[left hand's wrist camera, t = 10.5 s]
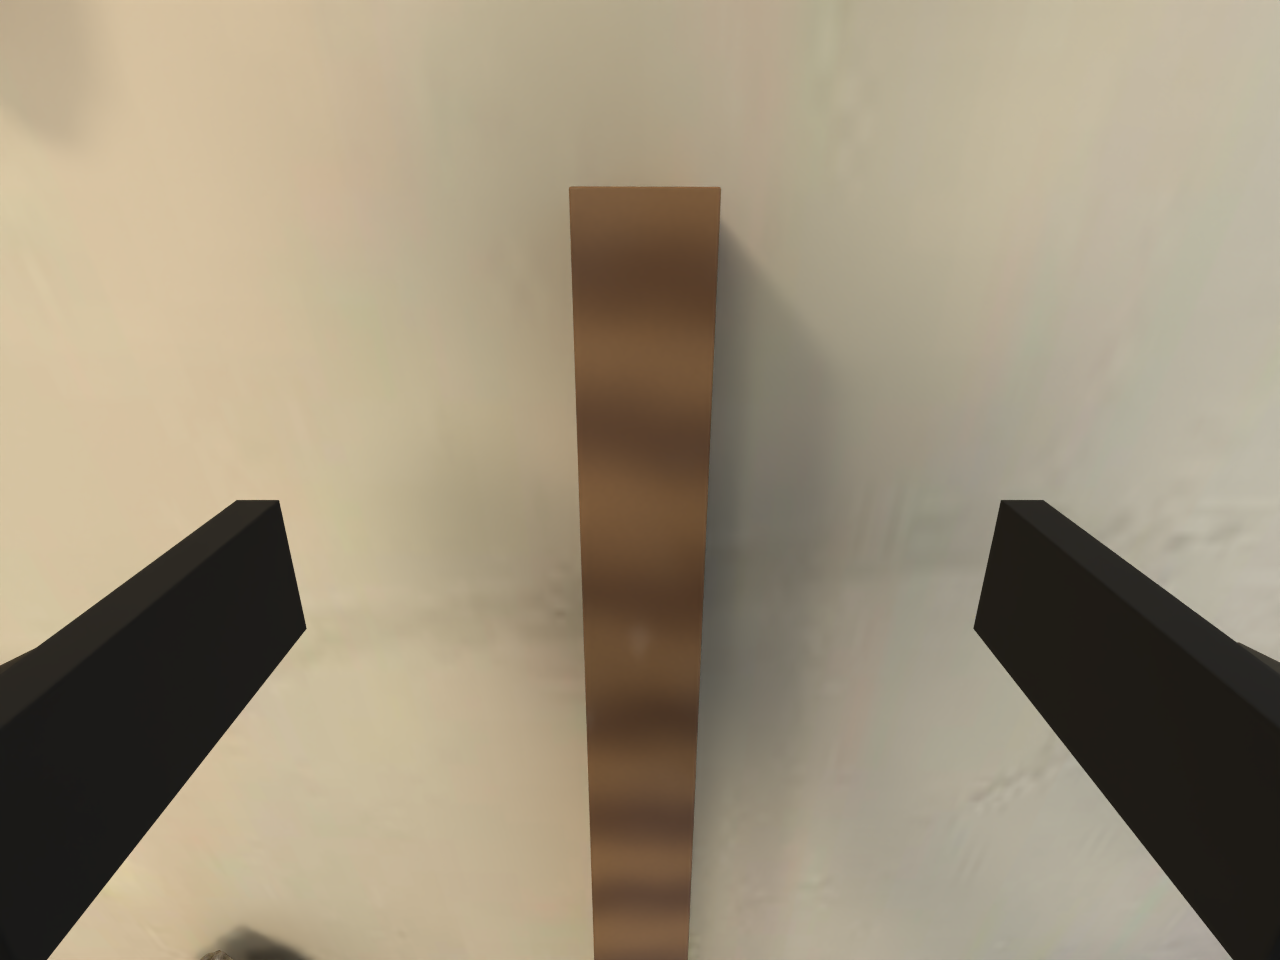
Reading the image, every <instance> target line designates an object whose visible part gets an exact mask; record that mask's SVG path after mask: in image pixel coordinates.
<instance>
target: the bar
mask: <svg viewBox="0 0 1280 960" xmlns="http://www.w3.org/2000/svg"><path fill="white" fill-rule="evenodd" d="M720 200H721V188H720V187H570V188H569V202H570V233H571V263H572V294H573V324H574V354H575V385H576V415H577V446H578V476H579V506H580V537H581V567H582V598H583V628H584V658H585V689H586V719H587V750H588V780H589V810H590V841H591V871H592V902H593V932H594V960H688V940H689V917H690V894H691V870H692V847H693V824H694V801H695V778H696V755H697V732H698V709H699V686H700V662H701V639H702V616H703V593H704V570H705V547H706V524H707V501H708V478H709V455H710V431H711V408H712V385H713V362H714V339H715V316H716V293H717V270H718V247H719V223H720Z"/></svg>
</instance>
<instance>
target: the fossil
mask: <svg viewBox="0 0 1280 960" xmlns="http://www.w3.org/2000/svg"><path fill="white" fill-rule="evenodd" d="M201 960H233V959H232V958H231V957H229V956H228V955H227V954H225V953H224V952H221V951H220V950H219V951H216V952H215V953H209V954H207V955H206V956H204V957H203V958H202V959H201Z"/></svg>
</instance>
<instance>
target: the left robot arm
mask: <svg viewBox="0 0 1280 960" xmlns="http://www.w3.org/2000/svg"><path fill="white" fill-rule="evenodd" d="M306 629H307V628H306V624H305V619H304V614H303V610H302V605H301V600H300V596H299V591H298V587H297V582H296V577H295V573H294V568H293V563H292V559H291V554H290V549H289V545H288V540H287V535H286V531H285V526H284V522H283V517H282V512H281V508H280V503H279V500H236V501H235V502H234V503H232V504H231V505H230V506H228V507H227V508H225V509H224V510H223V511H221V512H220V513H219V514H217V515H216V516H215V517H213V518H212V519H211V520H209V521H208V522H206V523H205V524H204V525H202V526H201V527H200V528H198V529H197V530H196V531H194V532H193V533H192V534H190V535H189V536H187V537H186V538H185V539H183V540H182V541H181V542H179V543H178V544H177V545H175V546H174V547H173V548H171V549H170V550H168V551H167V552H166V553H164V554H163V555H162V556H160V557H159V558H158V559H156V560H155V561H154V562H152V563H151V564H149V565H148V566H147V567H145V568H144V569H143V570H141V571H140V572H139V573H137V574H136V575H134V576H133V577H132V578H130V579H129V580H128V581H126V582H125V583H124V584H122V585H121V586H120V587H118V588H117V589H115V590H114V591H113V592H111V593H110V594H109V595H107V596H106V597H105V598H103V599H102V600H101V601H99V602H98V603H96V604H95V605H94V606H92V607H91V608H90V609H88V610H87V611H86V612H84V613H83V614H82V615H80V616H79V617H77V618H76V619H75V620H73V621H72V622H71V623H69V624H68V625H67V626H65V627H64V628H63V629H61V630H60V631H58V632H57V633H56V634H54V635H53V636H52V637H50V638H49V639H48V640H46V641H45V642H43V643H42V644H41V645H39V646H38V647H37V648H35V649H33V650H31V651H29V652H27V653H25V654H23V655H21V656H19V657H17V658H15V659H13V660H11V661H9V662H6V663H4V664H2V665H0V960H47V959H48V958H49V956H50V955H51V954H52V953H53V951H54V950H55V949H56V947H57V946H58V945H59V944H60V942H61V941H62V940H63V939H64V937H65V936H66V935H67V933H68V932H69V931H70V930H71V928H72V927H73V926H74V924H75V923H76V922H77V921H78V919H79V918H80V917H81V916H82V914H83V913H84V912H85V910H86V909H87V908H88V907H89V905H90V904H91V903H92V902H93V900H94V899H95V898H96V896H97V895H98V894H99V893H100V891H101V890H102V889H103V887H104V886H105V885H106V884H107V882H108V881H109V880H110V879H111V877H112V876H113V875H114V873H115V872H116V871H117V870H118V868H119V867H120V866H121V865H122V863H123V862H124V861H125V859H126V858H127V857H128V856H129V854H130V853H131V852H132V851H133V849H134V848H135V847H136V845H137V844H138V843H139V842H140V840H141V839H142V838H143V836H144V835H145V834H146V833H147V831H148V830H149V829H150V828H151V826H152V825H153V824H154V822H155V821H156V820H157V819H158V817H159V816H160V815H161V814H162V812H163V811H164V810H165V808H166V807H167V806H168V805H169V803H170V802H171V801H172V799H173V798H174V797H175V796H176V794H177V793H178V792H179V791H180V789H181V788H182V787H183V785H184V784H185V783H186V782H187V780H188V779H189V778H190V777H191V775H192V774H193V773H194V771H195V770H196V769H197V768H198V766H199V765H200V764H201V763H202V761H203V760H204V759H205V757H206V756H207V755H208V754H209V752H210V751H211V750H212V748H213V747H214V746H215V745H216V743H217V742H218V741H219V740H220V738H221V737H222V736H223V734H224V733H225V732H226V731H227V729H228V728H229V727H230V726H231V724H232V723H233V722H234V720H235V719H236V718H237V717H238V715H239V714H240V713H241V711H242V710H243V709H244V708H245V706H246V705H247V704H248V703H249V701H250V700H251V699H252V697H253V696H254V695H255V694H256V692H257V691H258V690H259V689H260V687H261V686H262V685H263V683H264V682H265V681H266V680H267V678H268V677H269V676H270V675H271V673H272V672H273V671H274V669H275V668H276V667H277V666H278V664H279V663H280V662H281V660H282V659H283V658H284V657H285V655H286V654H287V653H288V652H289V650H290V649H291V648H292V646H293V645H294V644H295V643H296V641H297V640H298V639H299V638H300V636H301V635H302V634H303V632H304V631H305V630H306ZM973 629H974V630H975V631H976V632H977V634H978V635H979V636H980V638H981V639H982V640H983V641H984V643H985V644H986V645H987V646H988V648H989V649H990V650H991V652H992V653H993V654H994V655H995V657H996V658H997V659H998V660H999V662H1000V663H1001V664H1002V666H1003V667H1004V668H1005V669H1006V671H1007V672H1008V673H1009V675H1010V676H1011V677H1012V678H1013V680H1014V681H1015V682H1016V683H1017V685H1018V686H1019V687H1020V689H1021V690H1022V691H1023V692H1024V694H1025V695H1026V696H1027V697H1028V699H1029V700H1030V701H1031V703H1032V704H1033V705H1034V706H1035V708H1036V709H1037V710H1038V712H1039V713H1040V714H1041V715H1042V717H1043V718H1044V719H1045V720H1046V722H1047V723H1048V724H1049V726H1050V727H1051V728H1052V729H1053V731H1054V732H1055V733H1056V734H1057V736H1058V737H1059V738H1060V740H1061V741H1062V742H1063V743H1064V745H1065V746H1066V747H1067V748H1068V750H1069V751H1070V752H1071V754H1072V755H1073V756H1074V757H1075V759H1076V760H1077V761H1078V763H1079V764H1080V765H1081V766H1082V768H1083V769H1084V770H1085V771H1086V773H1087V774H1088V775H1089V777H1090V778H1091V779H1092V780H1093V782H1094V783H1095V784H1096V785H1097V787H1098V788H1099V789H1100V791H1101V792H1102V793H1103V794H1104V796H1105V797H1106V798H1107V799H1108V801H1109V802H1110V803H1111V805H1112V806H1113V807H1114V808H1115V810H1116V811H1117V812H1118V814H1119V815H1120V816H1121V817H1122V819H1123V820H1124V821H1125V822H1126V824H1127V825H1128V826H1129V828H1130V829H1131V830H1132V831H1133V833H1134V834H1135V835H1136V836H1137V838H1138V839H1139V840H1140V842H1141V843H1142V844H1143V845H1144V847H1145V848H1146V849H1147V851H1148V852H1149V853H1150V854H1151V856H1152V857H1153V858H1154V859H1155V861H1156V862H1157V863H1158V865H1159V866H1160V867H1161V868H1162V870H1163V871H1164V872H1165V873H1166V875H1167V876H1168V877H1169V879H1170V880H1171V881H1172V882H1173V884H1174V885H1175V886H1176V887H1177V889H1178V890H1179V891H1180V893H1181V894H1182V895H1183V896H1184V898H1185V899H1186V900H1187V902H1188V903H1189V904H1190V905H1191V907H1192V908H1193V909H1194V910H1195V912H1196V913H1197V914H1198V916H1199V917H1200V918H1201V919H1202V921H1203V922H1204V923H1205V924H1206V926H1207V927H1208V928H1209V930H1210V931H1211V932H1212V933H1213V935H1214V936H1215V937H1216V939H1217V940H1218V941H1219V942H1220V944H1221V945H1222V946H1223V947H1224V949H1225V950H1226V951H1227V953H1228V954H1229V955H1230V956H1231V958H1232V959H1233V960H1280V662H1278V661H1276V660H1274V659H1272V658H1270V657H1268V656H1265V655H1263V654H1261V653H1259V652H1257V651H1255V650H1253V649H1251V648H1249V647H1247V646H1245V645H1243V644H1241V643H1236V642H1235V641H1234V640H1232V639H1231V638H1230V637H1228V636H1227V635H1226V634H1224V633H1223V632H1222V631H1220V630H1219V629H1217V628H1216V627H1215V626H1213V625H1212V624H1211V623H1209V622H1208V621H1207V620H1205V619H1204V618H1203V617H1201V616H1200V615H1198V614H1197V613H1196V612H1194V611H1193V610H1192V609H1190V608H1189V607H1188V606H1186V605H1185V604H1184V603H1182V602H1181V601H1179V600H1178V599H1177V598H1175V597H1174V596H1173V595H1171V594H1170V593H1169V592H1167V591H1166V590H1165V589H1163V588H1162V587H1160V586H1159V585H1158V584H1156V583H1155V582H1154V581H1152V580H1151V579H1150V578H1148V577H1147V576H1146V575H1144V574H1143V573H1141V572H1140V571H1139V570H1137V569H1136V568H1135V567H1133V566H1132V565H1131V564H1129V563H1128V562H1126V561H1125V560H1124V559H1122V558H1121V557H1120V556H1118V555H1117V554H1116V553H1114V552H1113V551H1112V550H1110V549H1109V548H1107V547H1106V546H1105V545H1103V544H1102V543H1101V542H1099V541H1098V540H1097V539H1095V538H1094V537H1093V536H1091V535H1090V534H1088V533H1087V532H1086V531H1084V530H1083V529H1082V528H1080V527H1079V526H1078V525H1076V524H1075V523H1074V522H1072V521H1071V520H1069V519H1068V518H1067V517H1065V516H1064V515H1063V514H1061V513H1060V512H1059V511H1057V510H1056V509H1055V508H1053V507H1052V506H1050V505H1049V504H1048V503H1046V502H1045V501H1044V500H1001V503H1000V508H999V512H998V517H997V522H996V526H995V531H994V535H993V540H992V545H991V549H990V554H989V559H988V563H987V568H986V573H985V577H984V582H983V587H982V591H981V596H980V600H979V605H978V610H977V614H976V619H975V624H974V628H973Z"/></svg>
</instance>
